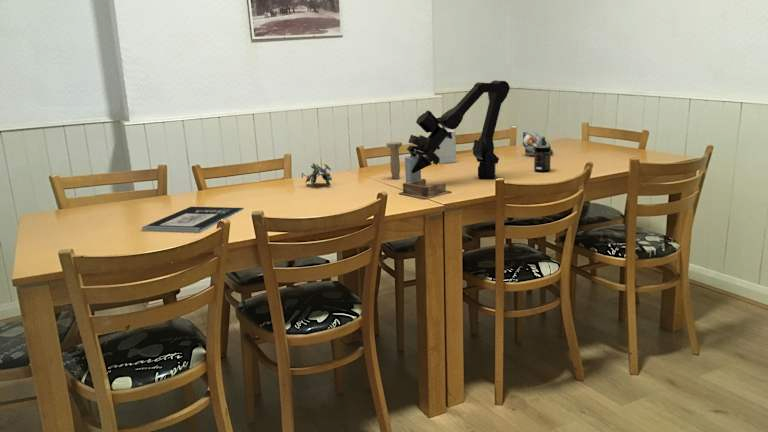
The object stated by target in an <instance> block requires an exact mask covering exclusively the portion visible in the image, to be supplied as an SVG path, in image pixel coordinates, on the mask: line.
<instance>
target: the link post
mask: <svg viewBox="0 0 768 432" xmlns="http://www.w3.org/2000/svg"><path fill="white" fill-rule="evenodd" d="M418 160H419V157H417V156H411V155H410V156H404V167H405V168H404V169H405V173H404V175H405V183H407V182H411V181H416V180H420V179H422V173H421V172H422V169H421V170H419V171H417V172H415V173H412V172H411V171H412V169H413V168H414V166H415V165H416V163H417V161H418Z"/></svg>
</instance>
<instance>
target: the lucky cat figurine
mask: <svg viewBox="0 0 768 432" xmlns="http://www.w3.org/2000/svg"><path fill="white" fill-rule="evenodd" d="M540 145H546V146H551V144H550V142H548V141H547V140H546V136H544V135H543V136H540V135H539V134H538V133H536V132H528V131H523V134H522V146H523V148H524V149H525V150H524V153H525V155H526V156H528V157H529V156H531V157H532V156H534V147H535V146H540ZM553 154H554V151H553V149H552V148H551V156H552V155H553Z"/></svg>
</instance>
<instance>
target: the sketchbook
mask: <svg viewBox="0 0 768 432" xmlns="http://www.w3.org/2000/svg"><path fill="white" fill-rule="evenodd" d="M243 209H244V207H225V206H222V207H221V206H188V207H187V208H184V209H181V210H180V211H177V212H174V213H172V214H171V215H170V214H169V215H168V216H166V217H162V218H161V219H160V218H159V219H158V220H156V221H154V222H151V223H148V224H147V225H143V226H142V227H141V231H142V232H147V231H148V232H157V233H158V232H159V233H161V232H162V233H163V232H164V233H165V232H169V233H170V232H171V233H175V232H176V233H181V234H182V233H192V234H194V233H195V234H197V233H203V232H204V231H206V230H208V229H210V228H212V227H214V226H215V225H218V224H217V222H218V221H219V220H221V219H225V220H227V219H229V218H231V217H233V216H235V215H236V214H235V213H237V212H238V213H240V212H242V211H244V210H243ZM241 210H242V211H241ZM239 211H240V212H239ZM238 213H237V214H238ZM234 214H235V215H234ZM232 215H233V216H232ZM230 216H231V217H230Z"/></svg>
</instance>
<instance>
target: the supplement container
mask: <svg viewBox="0 0 768 432" xmlns="http://www.w3.org/2000/svg"><path fill="white" fill-rule="evenodd" d="M551 149H552V146H551V145H550V146H546V145H540V146H535V147H534V155H533V156H534V159H533V160H534V161H533V162H534V164H533V166H534V167H533V170H534V172H536V173H548V172H550V171H551V156H552V155H551Z"/></svg>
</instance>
